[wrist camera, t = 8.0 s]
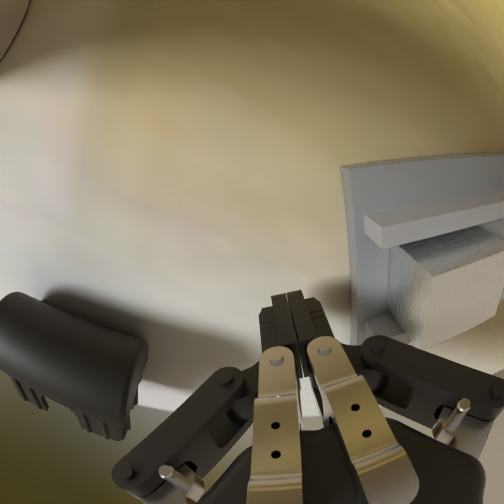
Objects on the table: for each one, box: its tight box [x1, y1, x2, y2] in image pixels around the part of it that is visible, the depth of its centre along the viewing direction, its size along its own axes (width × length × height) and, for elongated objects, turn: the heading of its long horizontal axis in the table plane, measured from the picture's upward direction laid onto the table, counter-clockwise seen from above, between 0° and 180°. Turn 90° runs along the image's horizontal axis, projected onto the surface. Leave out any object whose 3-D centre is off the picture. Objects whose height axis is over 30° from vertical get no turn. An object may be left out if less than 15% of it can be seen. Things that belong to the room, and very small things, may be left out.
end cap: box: [0, 292, 148, 441], centre depth 14 cm, size 10×7×7 cm
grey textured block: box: [388, 225, 504, 350], centre depth 12 cm, size 4×8×4 cm, turn 102°
